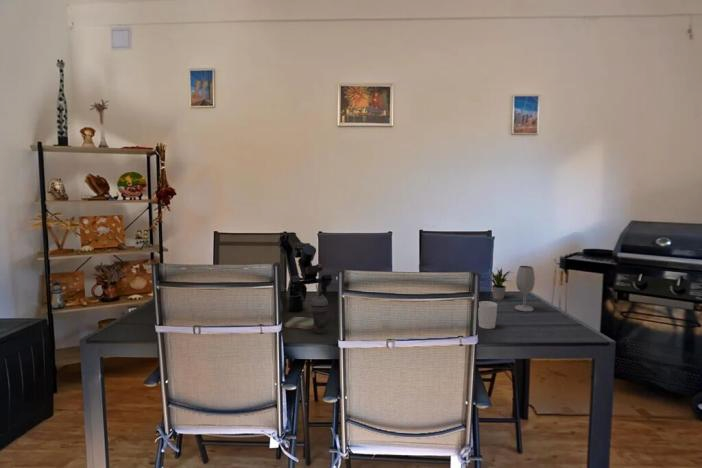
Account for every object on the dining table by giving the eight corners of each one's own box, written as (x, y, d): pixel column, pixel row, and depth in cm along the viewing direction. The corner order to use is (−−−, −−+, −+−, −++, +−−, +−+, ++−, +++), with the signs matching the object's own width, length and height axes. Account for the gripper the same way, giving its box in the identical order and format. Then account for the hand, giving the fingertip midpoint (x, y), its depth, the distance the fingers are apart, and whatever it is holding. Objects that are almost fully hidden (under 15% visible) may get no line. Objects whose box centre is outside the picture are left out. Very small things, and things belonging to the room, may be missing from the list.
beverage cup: (326, 334, 182) (325, 287, 179) (309, 333, 183) (308, 286, 181) (330, 328, 189) (329, 282, 186) (314, 327, 190) (313, 282, 188)
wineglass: (514, 311, 212) (515, 267, 209) (514, 306, 220) (516, 264, 218) (533, 313, 209) (535, 269, 206) (533, 307, 217) (535, 265, 214)
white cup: (486, 330, 185) (487, 307, 184) (473, 325, 192) (474, 302, 191) (500, 327, 189) (501, 304, 188) (487, 322, 196) (487, 300, 195)
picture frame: (285, 326, 192) (284, 323, 192) (294, 319, 201) (294, 316, 201) (311, 329, 189) (311, 325, 188) (319, 321, 198) (319, 318, 198)
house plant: (518, 302, 227) (519, 270, 225) (491, 302, 227) (492, 270, 225) (508, 294, 241) (509, 265, 239) (483, 295, 241) (484, 265, 239)
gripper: (289, 259, 189) (297, 290, 180) (330, 256, 196) (340, 285, 187) (285, 274, 197) (292, 304, 188) (324, 270, 204) (333, 299, 195)
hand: (315, 298), depth 189 cm, fingers open, 9 cm apart
